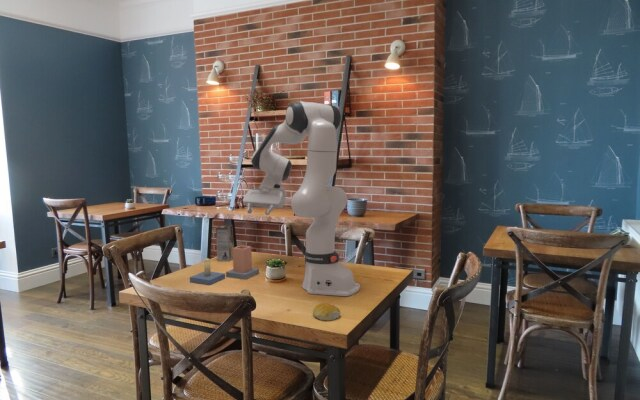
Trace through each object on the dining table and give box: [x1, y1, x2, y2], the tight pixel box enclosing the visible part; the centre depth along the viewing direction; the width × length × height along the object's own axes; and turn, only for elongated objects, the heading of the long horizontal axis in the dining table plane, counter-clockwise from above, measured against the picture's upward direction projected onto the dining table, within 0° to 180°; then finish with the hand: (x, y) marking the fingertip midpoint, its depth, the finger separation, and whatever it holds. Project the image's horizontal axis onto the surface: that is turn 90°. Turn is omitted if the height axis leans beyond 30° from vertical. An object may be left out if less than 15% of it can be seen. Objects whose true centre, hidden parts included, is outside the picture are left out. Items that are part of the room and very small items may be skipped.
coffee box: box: [215, 224, 235, 262], centre depth 216 cm, size 9×6×16 cm
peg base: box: [189, 257, 226, 286], centre depth 183 cm, size 10×10×9 cm
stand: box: [225, 267, 260, 280], centre depth 190 cm, size 10×10×10 cm
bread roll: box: [312, 302, 341, 322], centre depth 145 cm, size 8×9×4 cm
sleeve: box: [232, 245, 253, 273], centre depth 190 cm, size 6×6×10 cm
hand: (257, 213), depth 199 cm, fingers open, 8 cm apart
